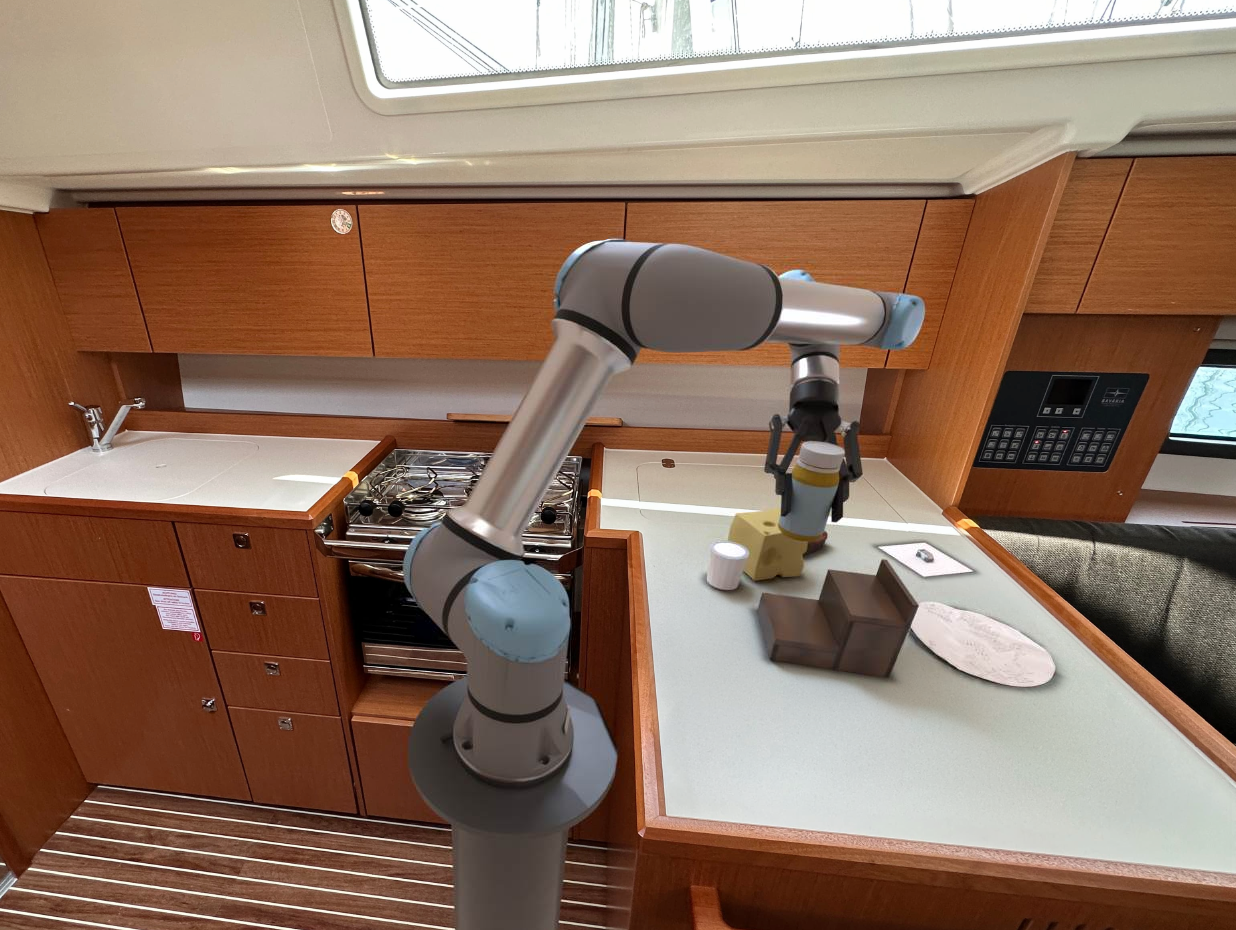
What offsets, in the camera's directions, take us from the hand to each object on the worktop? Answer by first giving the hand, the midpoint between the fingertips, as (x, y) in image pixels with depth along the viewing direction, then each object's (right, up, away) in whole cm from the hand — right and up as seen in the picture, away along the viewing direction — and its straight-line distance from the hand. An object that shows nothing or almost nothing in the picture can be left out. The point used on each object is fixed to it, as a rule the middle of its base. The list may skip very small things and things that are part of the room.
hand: (811, 516), depth 92 cm
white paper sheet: (+37, -8, +27) cm, 47 cm away
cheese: (+1, -10, +22) cm, 24 cm away
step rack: (+2, -20, +1) cm, 20 cm away
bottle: (+1, -3, +5) cm, 6 cm away
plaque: (+28, -21, +3) cm, 35 cm away
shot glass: (-8, -12, +17) cm, 22 cm away
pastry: (+11, -5, +32) cm, 34 cm away
